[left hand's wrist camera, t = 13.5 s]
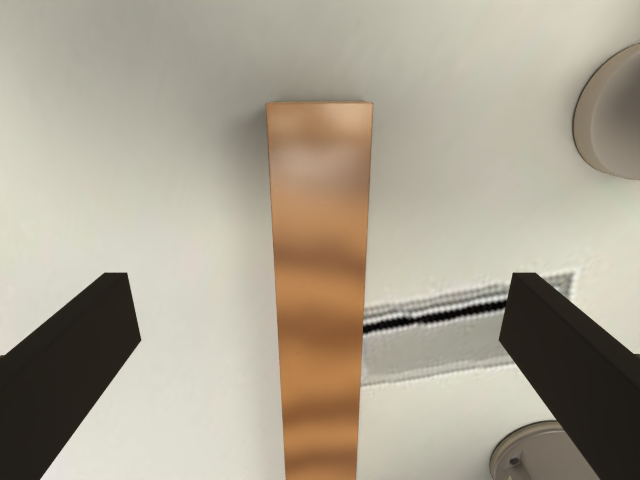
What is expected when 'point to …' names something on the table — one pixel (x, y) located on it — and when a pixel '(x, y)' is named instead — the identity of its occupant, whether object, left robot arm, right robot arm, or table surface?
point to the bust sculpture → (612, 117)
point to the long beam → (320, 277)
